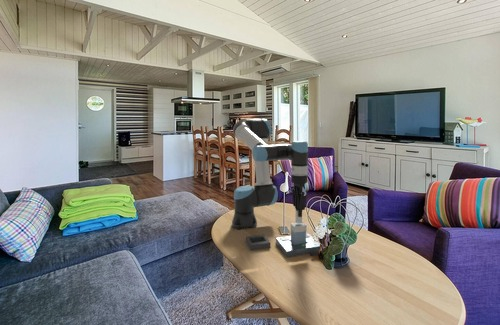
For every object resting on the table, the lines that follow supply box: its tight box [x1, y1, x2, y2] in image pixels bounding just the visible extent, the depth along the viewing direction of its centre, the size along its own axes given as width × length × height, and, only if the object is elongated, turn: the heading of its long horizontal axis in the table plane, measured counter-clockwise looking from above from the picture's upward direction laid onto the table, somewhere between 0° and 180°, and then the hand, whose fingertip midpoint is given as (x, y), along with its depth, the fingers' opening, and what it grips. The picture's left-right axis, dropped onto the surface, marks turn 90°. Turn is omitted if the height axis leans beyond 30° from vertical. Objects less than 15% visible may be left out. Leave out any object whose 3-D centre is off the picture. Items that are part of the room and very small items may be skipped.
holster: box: [245, 233, 271, 251], centre depth 130 cm, size 10×10×4 cm
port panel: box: [275, 233, 321, 258], centre depth 126 cm, size 14×18×5 cm
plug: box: [290, 221, 308, 245], centre depth 125 cm, size 4×6×12 cm
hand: (298, 222), depth 124 cm, fingers closed
